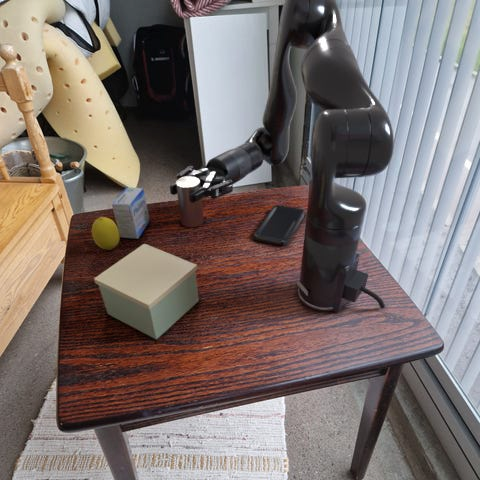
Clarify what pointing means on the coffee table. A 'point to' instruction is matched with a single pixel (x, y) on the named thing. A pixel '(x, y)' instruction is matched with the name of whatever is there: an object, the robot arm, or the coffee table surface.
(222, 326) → the coffee table surface
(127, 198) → the medicine box
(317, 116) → the robot arm
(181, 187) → the tea tin
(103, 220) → the lemon
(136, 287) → the storage box
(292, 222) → the phone
